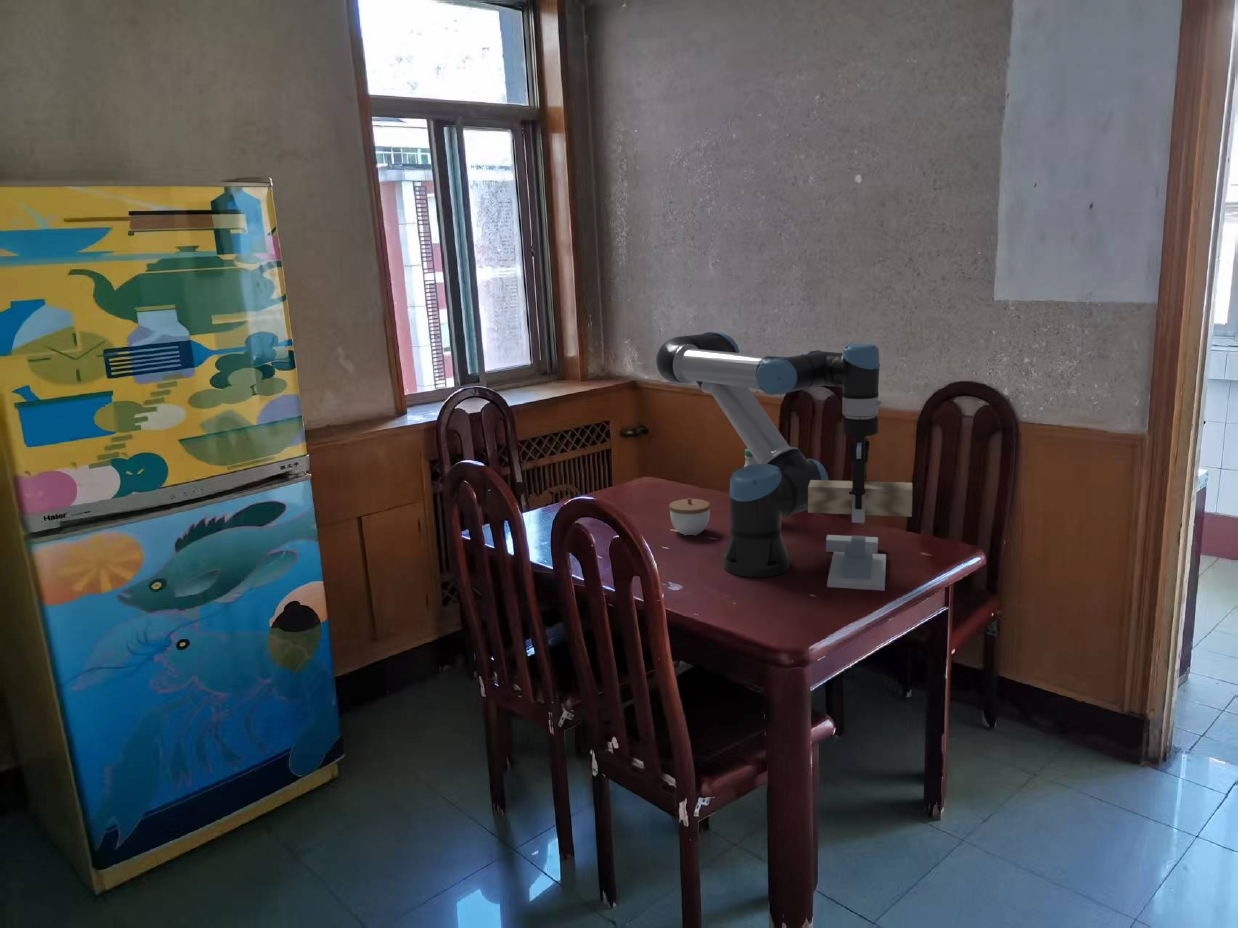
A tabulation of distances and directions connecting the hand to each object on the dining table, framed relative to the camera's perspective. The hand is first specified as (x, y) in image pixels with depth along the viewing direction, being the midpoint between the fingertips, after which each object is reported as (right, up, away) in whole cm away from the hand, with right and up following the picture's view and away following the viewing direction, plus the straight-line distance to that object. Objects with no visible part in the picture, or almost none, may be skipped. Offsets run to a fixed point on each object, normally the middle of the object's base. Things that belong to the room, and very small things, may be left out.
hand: (858, 517), depth 196 cm
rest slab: (+3, -9, +18) cm, 20 cm away
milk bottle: (-16, -4, +45) cm, 48 cm away
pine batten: (0, +2, 0) cm, 2 cm away
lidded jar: (-35, -6, +38) cm, 51 cm away
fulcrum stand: (+1, -13, +3) cm, 13 cm away
